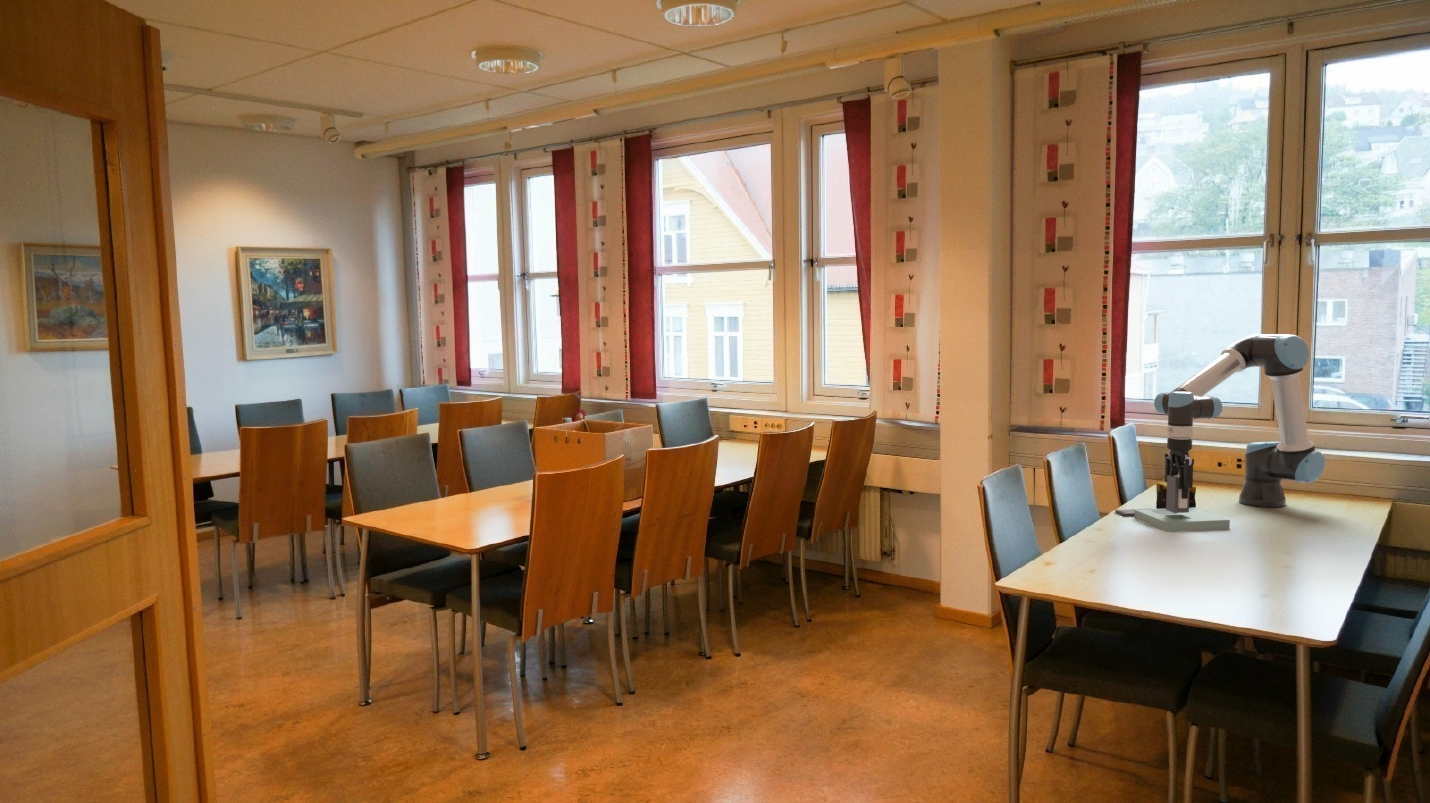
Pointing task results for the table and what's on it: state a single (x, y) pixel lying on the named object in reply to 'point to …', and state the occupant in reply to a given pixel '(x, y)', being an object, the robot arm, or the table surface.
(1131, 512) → the phone
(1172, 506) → the grey rectangular block
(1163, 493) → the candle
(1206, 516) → the outlet board
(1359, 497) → the table surface
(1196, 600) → the table surface
